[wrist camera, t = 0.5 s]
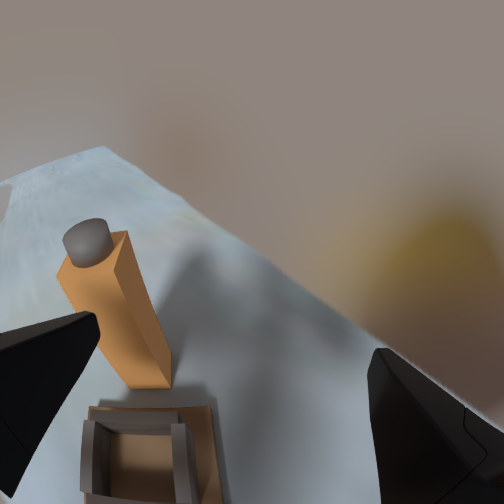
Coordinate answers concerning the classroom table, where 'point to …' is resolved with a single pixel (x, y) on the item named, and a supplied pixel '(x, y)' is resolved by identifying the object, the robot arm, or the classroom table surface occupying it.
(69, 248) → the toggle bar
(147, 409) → the keeper
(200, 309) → the classroom table surface
